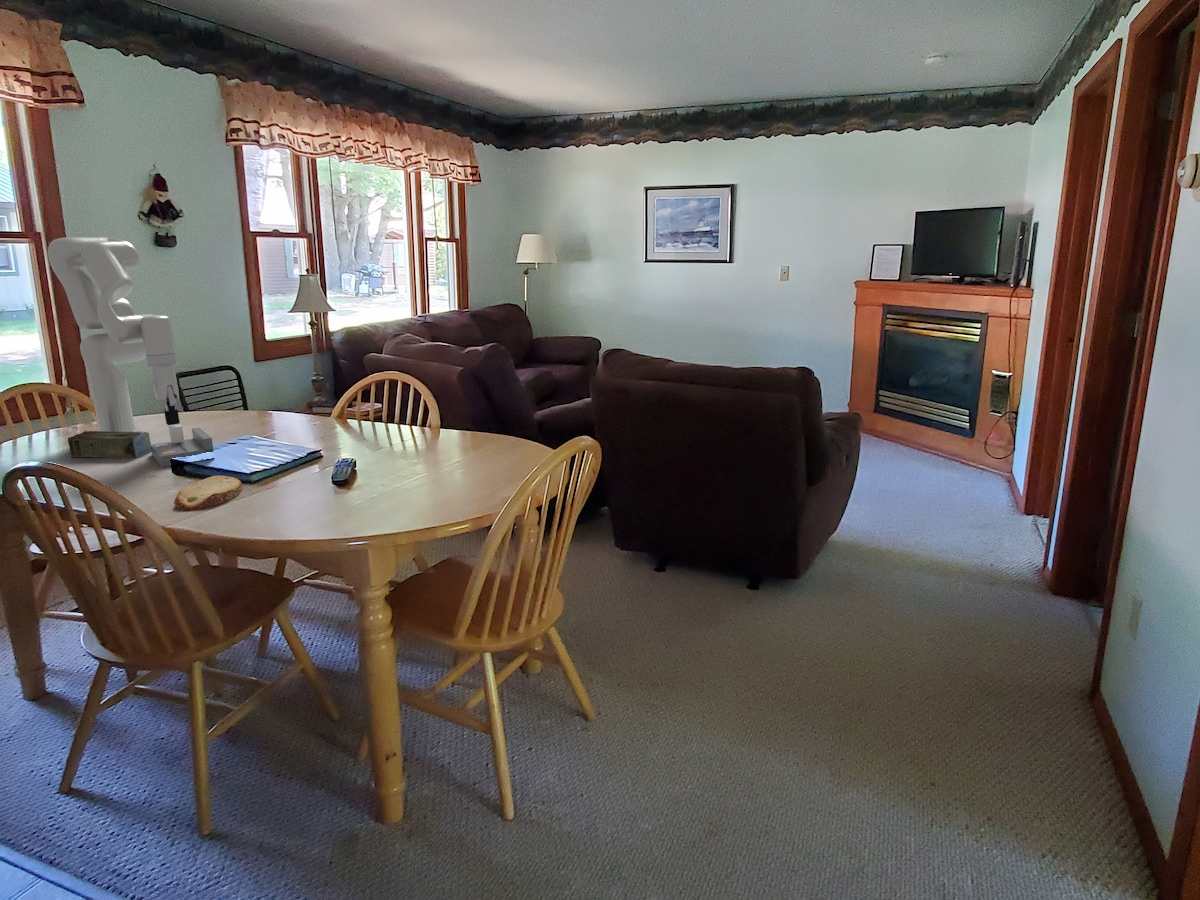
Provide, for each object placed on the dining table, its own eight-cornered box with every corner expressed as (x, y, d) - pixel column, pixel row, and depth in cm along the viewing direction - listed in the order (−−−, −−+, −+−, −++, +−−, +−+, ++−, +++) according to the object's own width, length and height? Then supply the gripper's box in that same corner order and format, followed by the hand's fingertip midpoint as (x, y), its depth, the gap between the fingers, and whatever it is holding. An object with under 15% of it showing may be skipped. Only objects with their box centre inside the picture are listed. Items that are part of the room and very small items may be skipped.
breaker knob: (170, 441, 223) (168, 426, 221) (182, 440, 224) (180, 424, 223) (172, 443, 221) (170, 427, 220) (184, 441, 222) (181, 426, 221)
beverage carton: (136, 459, 219) (132, 436, 217) (69, 459, 220) (64, 436, 218) (153, 451, 226) (149, 429, 225) (88, 451, 227) (84, 429, 225)
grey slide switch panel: (151, 455, 222) (148, 434, 220) (202, 447, 229) (199, 427, 228) (162, 467, 210) (158, 445, 208) (214, 458, 217) (211, 437, 216)
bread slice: (230, 481, 198) (227, 467, 197) (264, 495, 187) (262, 480, 186) (153, 499, 185) (151, 483, 184) (185, 515, 174) (183, 499, 173)
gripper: (142, 359, 224) (154, 422, 229) (151, 364, 213) (163, 430, 217) (172, 356, 229) (182, 418, 233) (182, 361, 217) (192, 425, 222)
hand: (173, 423), depth 225 cm, fingers closed
